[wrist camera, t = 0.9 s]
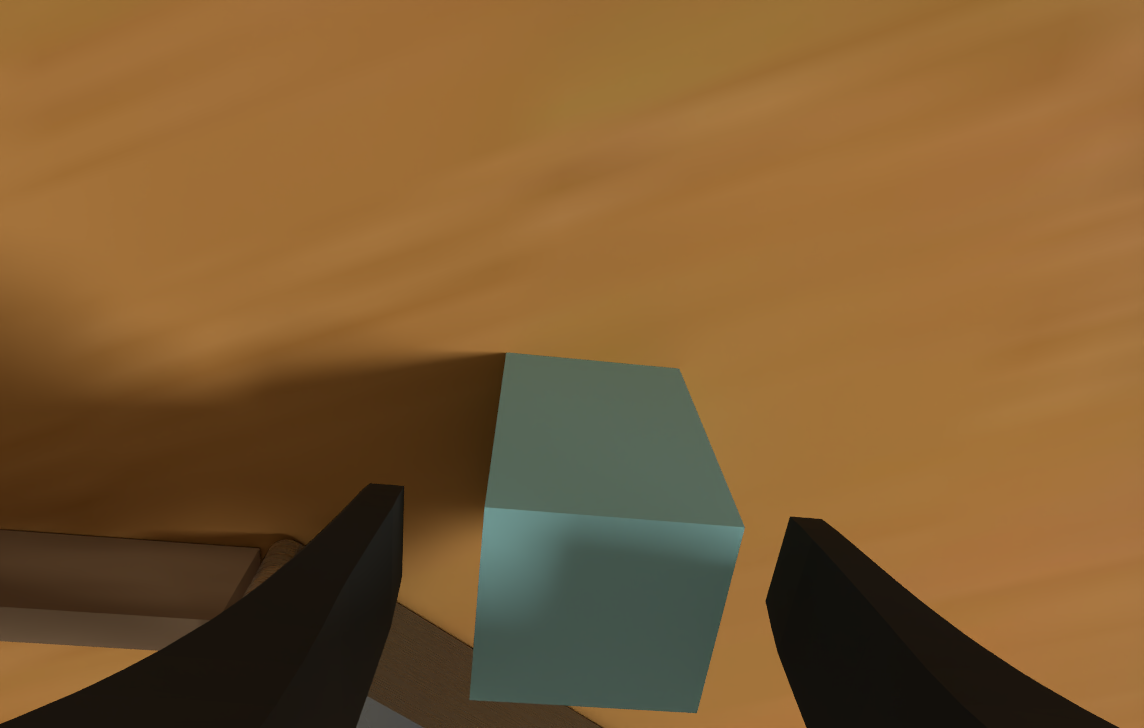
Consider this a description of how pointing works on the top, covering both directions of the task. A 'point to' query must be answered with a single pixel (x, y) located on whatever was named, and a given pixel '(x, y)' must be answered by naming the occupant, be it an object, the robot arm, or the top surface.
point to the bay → (115, 588)
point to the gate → (429, 676)
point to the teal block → (600, 540)
